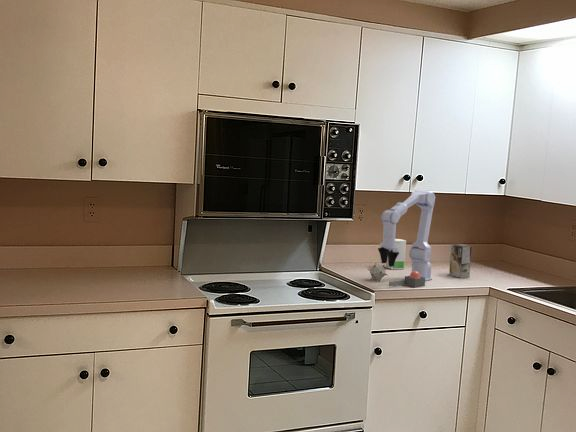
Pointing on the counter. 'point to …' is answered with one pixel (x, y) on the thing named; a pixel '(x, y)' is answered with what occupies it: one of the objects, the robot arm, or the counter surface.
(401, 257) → the skincare box
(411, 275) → the dome
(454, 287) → the counter surface
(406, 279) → the dome housing
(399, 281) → the bar
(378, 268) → the game die
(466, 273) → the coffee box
